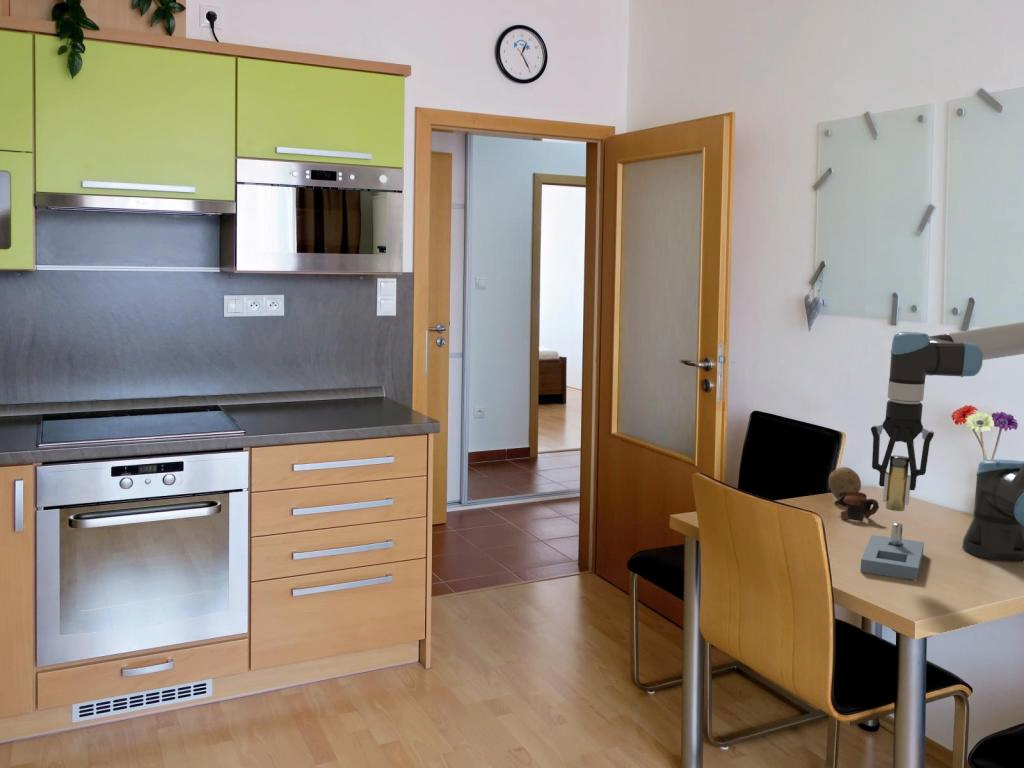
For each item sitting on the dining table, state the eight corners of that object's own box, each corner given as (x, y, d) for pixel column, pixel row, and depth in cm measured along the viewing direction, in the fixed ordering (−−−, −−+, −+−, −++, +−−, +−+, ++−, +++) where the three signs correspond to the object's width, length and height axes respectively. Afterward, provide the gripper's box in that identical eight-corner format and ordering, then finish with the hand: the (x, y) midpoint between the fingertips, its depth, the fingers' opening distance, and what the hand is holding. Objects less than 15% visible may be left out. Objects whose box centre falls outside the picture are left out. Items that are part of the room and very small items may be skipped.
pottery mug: (829, 520, 271) (830, 490, 274) (843, 529, 277) (843, 500, 280) (873, 517, 263) (873, 487, 266) (886, 526, 270) (886, 497, 273)
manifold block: (923, 554, 241) (924, 542, 240) (916, 580, 221) (918, 567, 221) (870, 546, 246) (871, 534, 245) (860, 571, 226) (861, 559, 226)
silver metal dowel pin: (900, 555, 239) (903, 523, 238) (899, 558, 237) (902, 526, 236) (889, 554, 240) (892, 522, 239) (888, 556, 238) (891, 524, 237)
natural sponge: (843, 495, 295) (845, 462, 294) (866, 503, 288) (869, 469, 286) (820, 498, 291) (823, 465, 290) (843, 506, 283) (846, 472, 282)
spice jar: (905, 508, 228) (909, 456, 226) (903, 512, 224) (908, 460, 223) (886, 505, 230) (891, 454, 228) (885, 509, 226) (889, 457, 224)
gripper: (946, 402, 223) (936, 503, 227) (867, 395, 230) (858, 493, 234) (945, 407, 216) (935, 511, 220) (863, 399, 224) (854, 500, 227)
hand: (895, 501), depth 227 cm, fingers closed on spice jar, 4 cm apart
